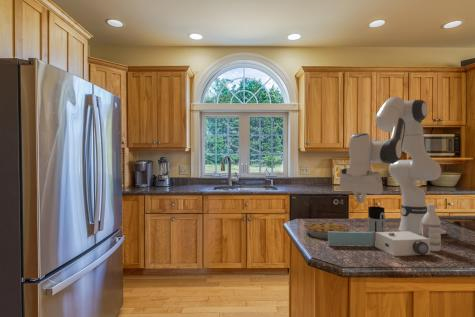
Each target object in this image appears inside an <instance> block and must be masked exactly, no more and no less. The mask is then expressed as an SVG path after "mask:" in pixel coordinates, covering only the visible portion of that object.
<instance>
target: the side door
mask: <svg viewBox="0 0 475 317" xmlns="http://www.w3.org/2000/svg"><path fill="white" fill-rule="evenodd" d="M327 244H328V246H331V245H332V246H362V247H363V246H364V247H365V246H367V247H368V246H370V247H373V248H375V247H376V239H375V232H374V231H372V232H368V231H349V232H330V231H328V239H327Z"/></svg>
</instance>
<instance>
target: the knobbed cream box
mask: <svg viewBox="0 0 475 317" xmlns="http://www.w3.org/2000/svg"><path fill="white" fill-rule="evenodd" d="M375 247H376V248H377V249H378V250H379V249H380V250H381V251H383V252H385V253H387V254H390V255H391V256H393V257H402V256H425V255H430V254H431V253H430V252H431V251H430V239H428V238H426V237H423V236H422V235H418V234H415V233H412V232H409V231H385V232H376V239H375Z"/></svg>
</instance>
